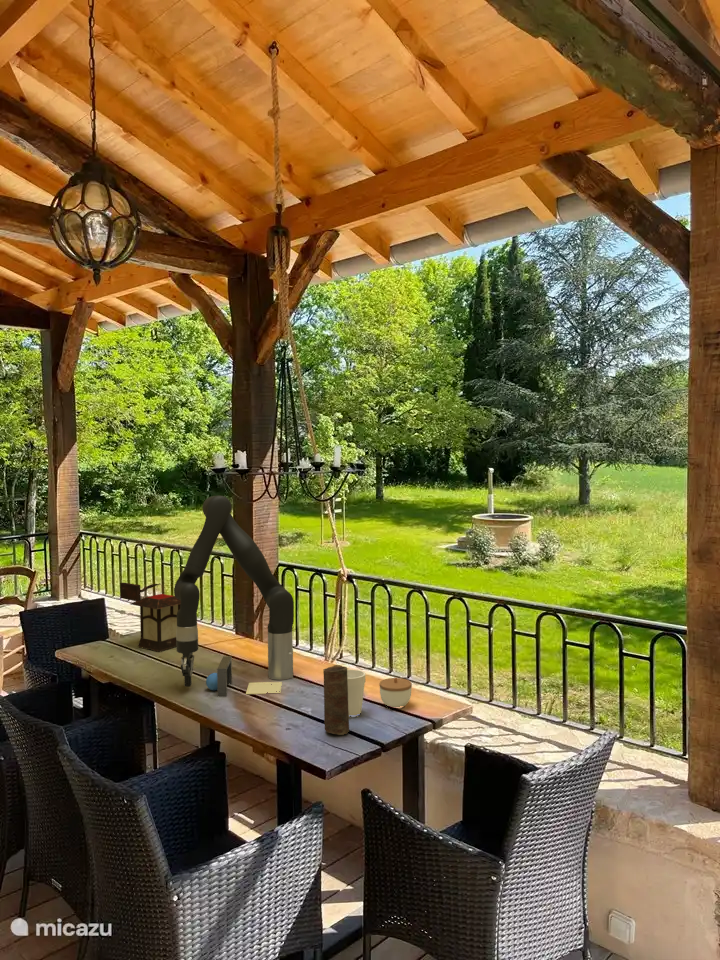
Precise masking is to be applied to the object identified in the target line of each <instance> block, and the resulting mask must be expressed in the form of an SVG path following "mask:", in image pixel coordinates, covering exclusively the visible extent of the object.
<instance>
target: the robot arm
mask: <svg viewBox="0 0 720 960" xmlns="http://www.w3.org/2000/svg"><path fill="white" fill-rule="evenodd" d="M232 510H233V508H232V503H231V501H230V499H228V498H227V496H224V495H213V496H212V495H211V496H209V497H207V498H206V499H205V500H204V502H203V503H202V512H203V515H204V517H205V521H204V523H203V527H202V529H201V532H200V534H199V535H198V537H197V539H196V541H195V543H194V545H193V546H192V548H191V551H190V553H189V555H188V557H187V560H186V564H185V566H184V569H183V570H182V572H181V573H180V575H179V576H178V578H177V580H176V582H175V584H174V587H173V596H175V597H176V598H177V599H179V600H181V605H180V609H179V610H178V611H177V630H176V647H175V648H176V652H177V653H179V654H182V657H180V662H181V664H180V670H181V674H182V677H184V679H183V680H184V687H185V688H187V687H191V686H192V675H193V672H194V661H195V655H194V653H195V652H198V651H199V628H198V610H199V604H200V596H201V594H200V590H199V589H200V588H199V587H198V586H197V584H196V583H197V581H198V579H199V578H201V577H203V575H204V573H205V571H206V568H207V566H208V563H209V561H210V557H211V554H212V552H213V549H214V547H215V544H216V542H217V539H218V537H219V535H220V536H221V537H222V540H223V541H224V542H225V544H226V546H227V548H228V549H229V551H230V552H231V554H232V556H233V557H234V559H235V560H236V562H237V563H238V565H239V566H240V567H241V569H242V570H243V571H244V572H245V574H246V575H247V576H248V578H250V579H251V580H252V582H253V583H254V584H255V585H256V587H257V588H258V590H259V592H260V594H261V596H262V598H263V600H264V602H265V603H266V604H265V605H266V606H267V607H268V609H269V613H268V615H269V616H268V617H269V620H268V623H267V673H268V675H267V677H268V678H269V679H271V680H274V681H275V680H277V681H282V680H283V681H284V680H288V679H293V678H294V649H293V647H294V646H293V645H294V644H293V643H294V642H293V627H294V620H295V618H294V617H295V616H294V614H295V609H294V608H295V607H294V606H295V602H294V597H293V595H292V594H291V593H290V592H289V591H288V590H287V589H285V587H284V586H283V585H282V584H281V583H280V582H279V581H278V580H277V578H276V576H274V574H273V573H272V570H271V568H270V566H269V563H268V562H267V559H266V557H265V555H264V554H263V553H262V551H261V549H260V548H259V546H258V544H257V543H256V542H255V541H254V539H253V538H252V537H251V536H250V535H249V534H248V533H247V532H246V531H245V530H244V529H243V528H242V527H241V526H239V524H238V523H237V521H236V520H235V519H234V516H233V515H232V514H231V512H232Z"/></svg>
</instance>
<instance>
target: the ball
mask: <svg viewBox="0 0 720 960" xmlns="http://www.w3.org/2000/svg"><path fill="white" fill-rule="evenodd" d="M205 685H206V687H207V688H208V689H209V690H211V691H218V688H217V672H213V673H210V674H209V675H208V676H207V677H206V680H205Z"/></svg>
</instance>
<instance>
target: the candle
mask: <svg viewBox="0 0 720 960" xmlns="http://www.w3.org/2000/svg"><path fill="white" fill-rule="evenodd" d="M347 670H348V668H347V666H343V665H340V664H334V665H332V666H329V667H326V668H324V669H323V703H324V704H323V705H324V706H323V708H324V709H323V710H324V711H323V712H324V714H323V716H324V717H323V718H324V730H325V731H326V733H329V734H333V735H338V736H345V735H344V734H347V733H348V732H350V717H349V711H348V681H347ZM348 734H349V733H348ZM348 734H347V735H348Z"/></svg>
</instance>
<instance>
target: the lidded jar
mask: <svg viewBox="0 0 720 960" xmlns="http://www.w3.org/2000/svg"><path fill="white" fill-rule="evenodd" d="M378 685H379V686H378V687H379V695H380V698H381V699H380V700H381V701H382V703H384V704H385V706H386V705H387V706H391V707H400V706H405V707H406V705H407V704H408V703H409V702H410V700H411V697H412V687H413V686H412V685H413V684H412V681H410V680H409V679H406V678H401V677H389V678H384V679H382V680H381V681H379V684H378ZM387 706H386V707H387Z"/></svg>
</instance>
